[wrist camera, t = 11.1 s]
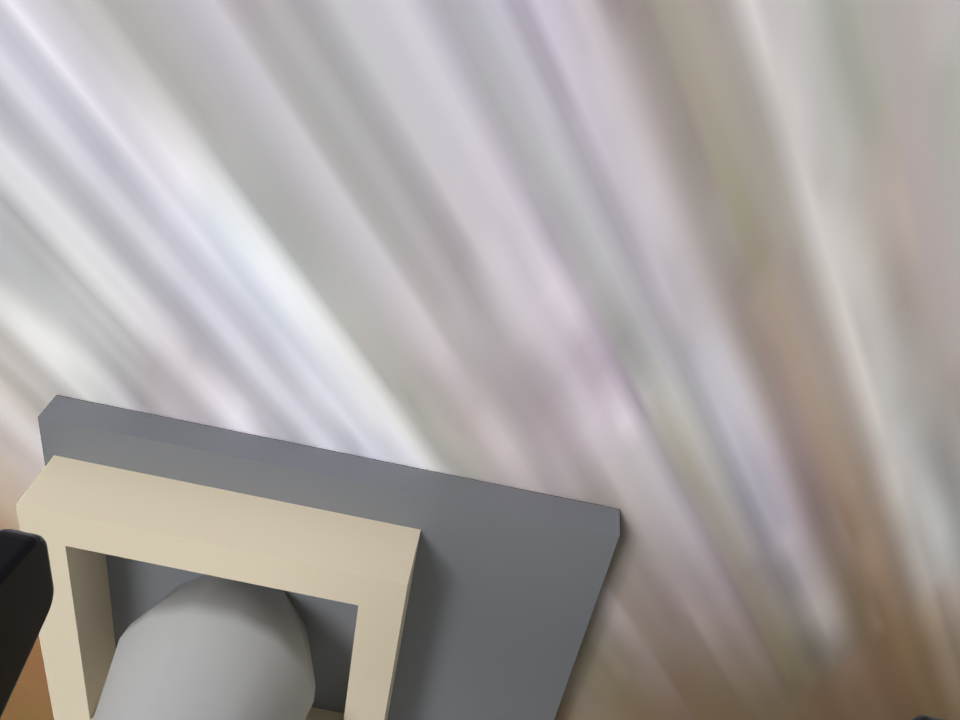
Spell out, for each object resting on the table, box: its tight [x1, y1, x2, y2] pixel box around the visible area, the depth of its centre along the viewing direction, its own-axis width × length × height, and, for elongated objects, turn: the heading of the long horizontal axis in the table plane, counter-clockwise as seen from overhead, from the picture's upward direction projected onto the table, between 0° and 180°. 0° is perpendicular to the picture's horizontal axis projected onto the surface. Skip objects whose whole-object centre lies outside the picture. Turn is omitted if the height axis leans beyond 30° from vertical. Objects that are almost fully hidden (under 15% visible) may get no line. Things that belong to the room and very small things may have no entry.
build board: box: [16, 395, 620, 720], centre depth 28 cm, size 16×13×3 cm
